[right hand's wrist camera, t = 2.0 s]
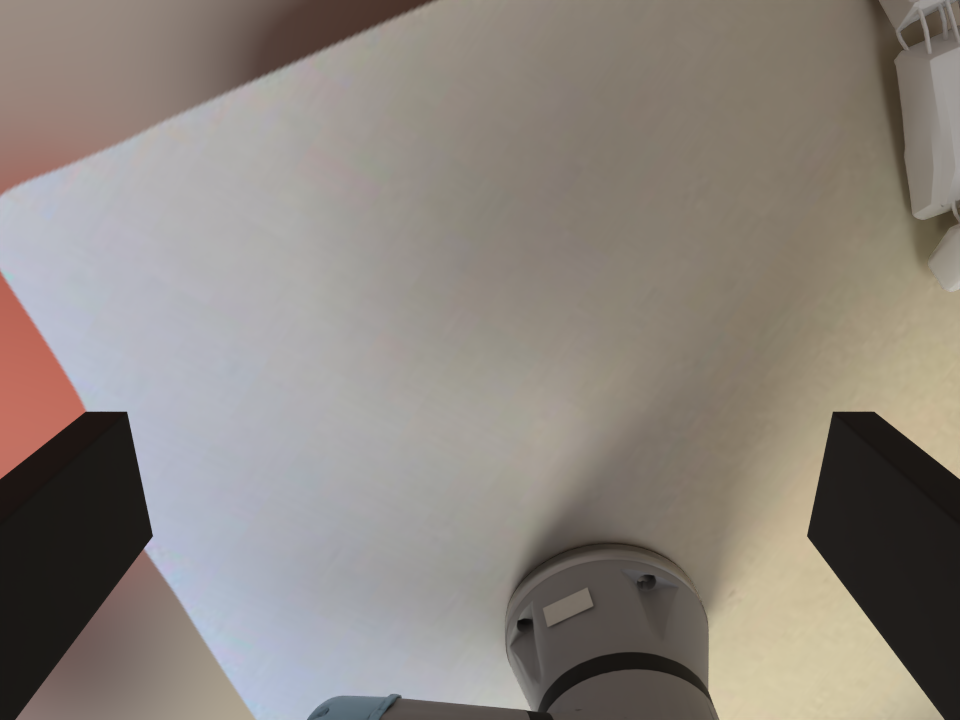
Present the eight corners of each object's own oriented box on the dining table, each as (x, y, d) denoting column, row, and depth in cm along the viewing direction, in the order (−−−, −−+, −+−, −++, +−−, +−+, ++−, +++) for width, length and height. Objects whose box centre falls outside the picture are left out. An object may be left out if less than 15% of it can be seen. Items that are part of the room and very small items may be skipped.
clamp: (988, 267, 41) (1080, 287, 35) (926, 290, 42) (1005, 315, 35) (910, -74, 36) (1000, -125, 30) (841, -42, 37) (915, -86, 30)
